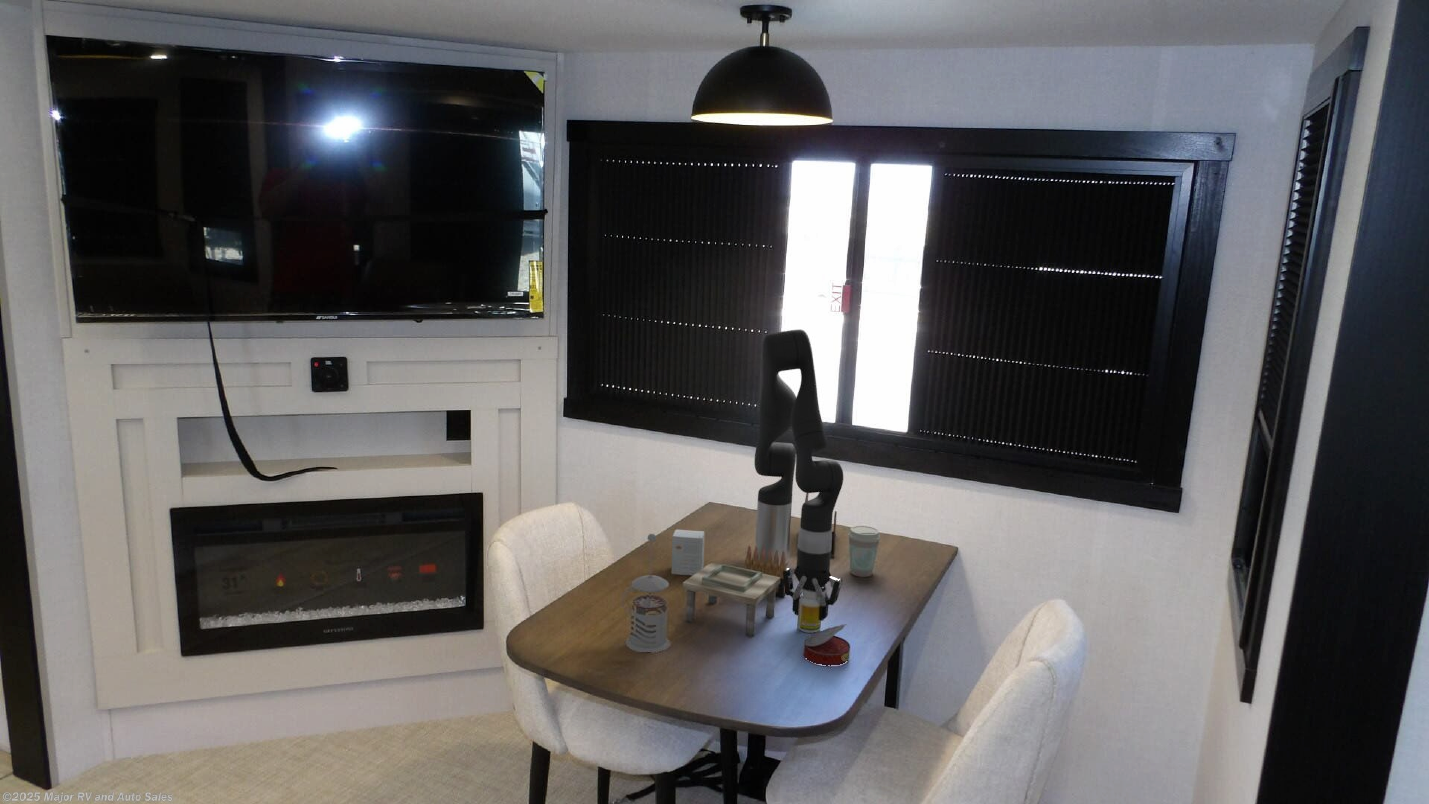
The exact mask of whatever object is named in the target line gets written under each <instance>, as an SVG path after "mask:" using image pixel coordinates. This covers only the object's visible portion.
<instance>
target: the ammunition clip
mask: <svg viewBox="0 0 1429 804" xmlns="http://www.w3.org/2000/svg"><path fill="white" fill-rule="evenodd" d="M751 548H752V547H751V545H748V546H747V550H746V558H745V562H744V569H749V570H753V571H758V572H763V573H762V574H767V575H771V576H776V577H780V584H779V585H778V586H777V587H776V592H775V598H779V599H784V598H785V597H786V594H785V587H784V579H783V571H784V570H785V569H786V568H787V566H786V565H787V564H786V556H785V552H784V551H783V552H782V556H781V562H780V566H779V554H778V550H776V552H775V555H774V563H773V567H772V552H771V549H769V551H768V555H767V563H766V564H765V550H764V548H762V551H761V555H760V563H759V562H758V549H757V547H755V546H754V550H753V557H752V549H751ZM765 597H767V595H766V596H765Z"/></svg>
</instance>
